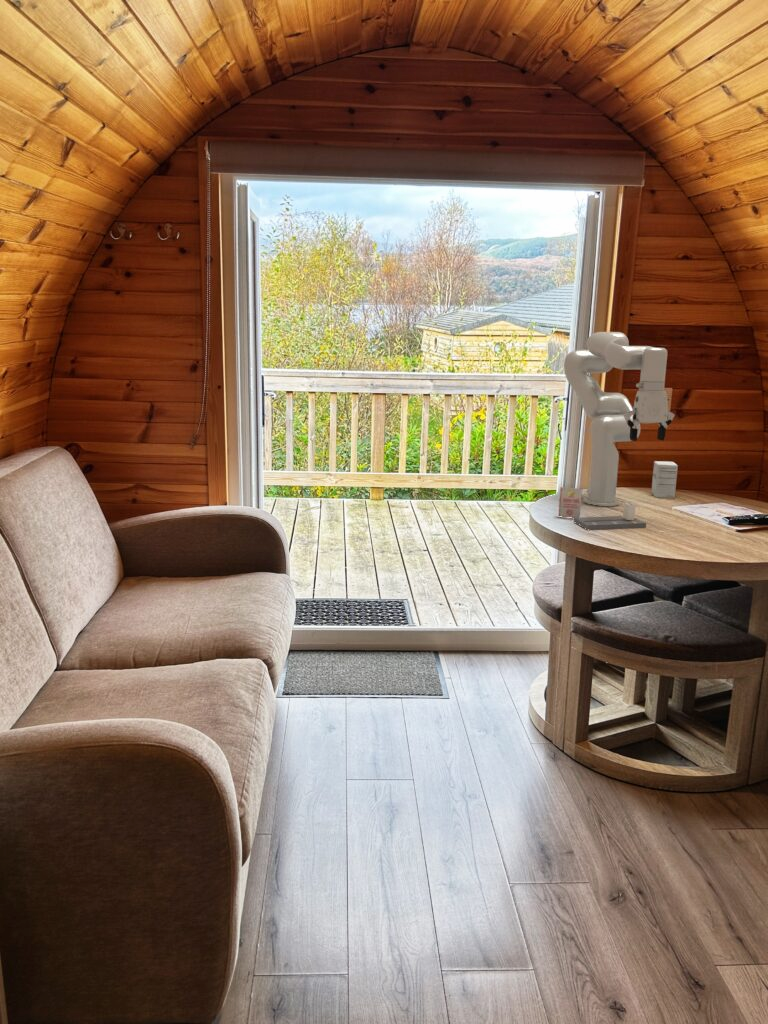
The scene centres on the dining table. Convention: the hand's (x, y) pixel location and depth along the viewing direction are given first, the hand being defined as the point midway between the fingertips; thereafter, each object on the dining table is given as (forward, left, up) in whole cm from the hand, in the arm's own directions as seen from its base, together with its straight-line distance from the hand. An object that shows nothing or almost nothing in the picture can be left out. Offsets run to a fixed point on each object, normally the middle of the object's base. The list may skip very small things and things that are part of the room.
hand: (647, 440), depth 260 cm
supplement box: (-32, +27, -26) cm, 50 cm away
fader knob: (+6, -7, -25) cm, 26 cm away
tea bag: (-6, -23, -27) cm, 35 cm away
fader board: (+6, -14, -26) cm, 30 cm away
